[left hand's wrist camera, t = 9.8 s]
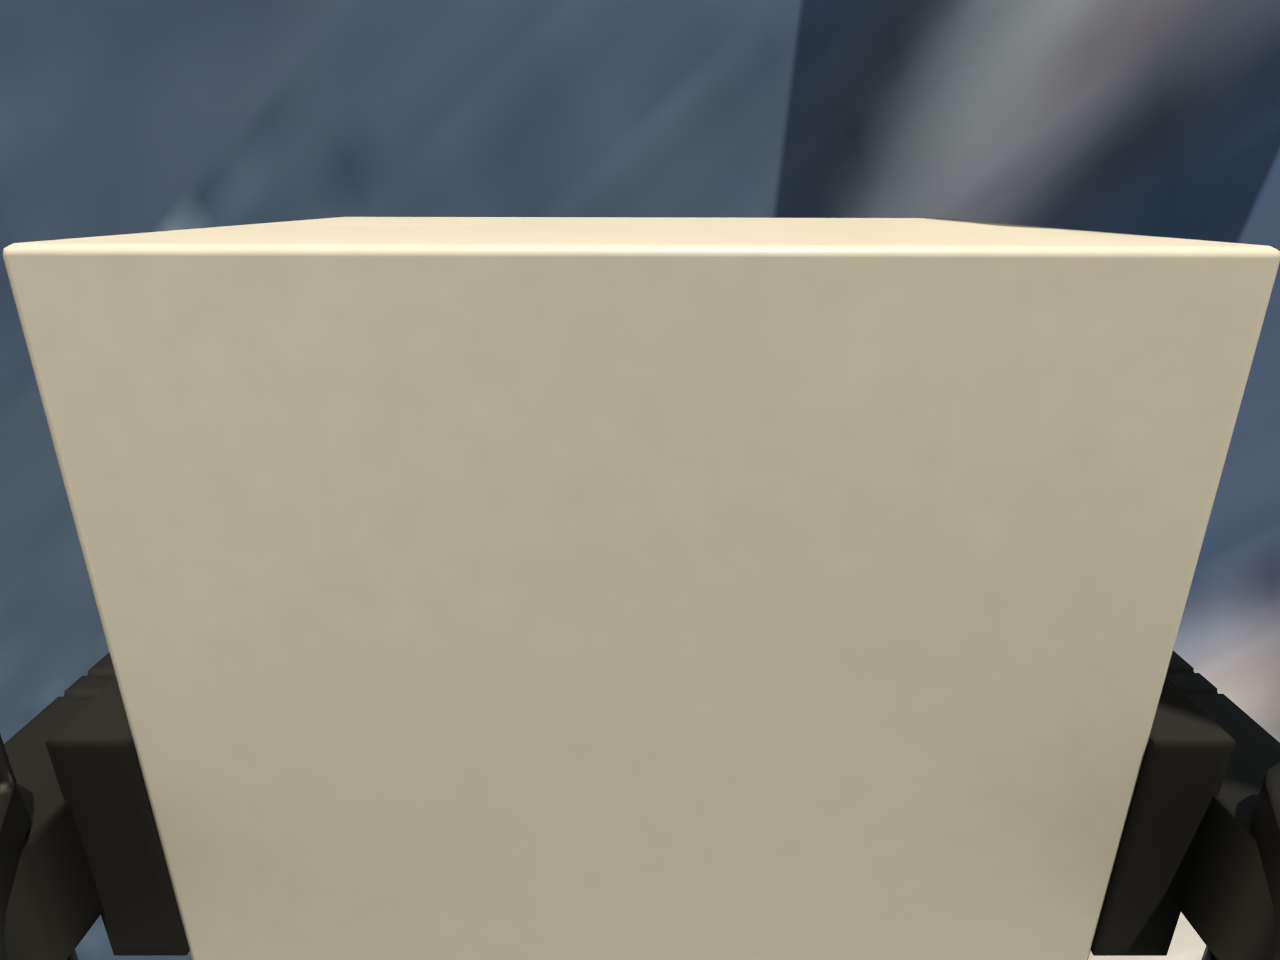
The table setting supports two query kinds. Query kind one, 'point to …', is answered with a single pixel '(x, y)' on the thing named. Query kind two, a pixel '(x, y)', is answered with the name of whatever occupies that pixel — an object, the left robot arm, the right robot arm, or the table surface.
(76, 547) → the table surface
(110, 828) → the left robot arm
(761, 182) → the table surface
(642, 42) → the table surface
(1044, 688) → the wide beam
